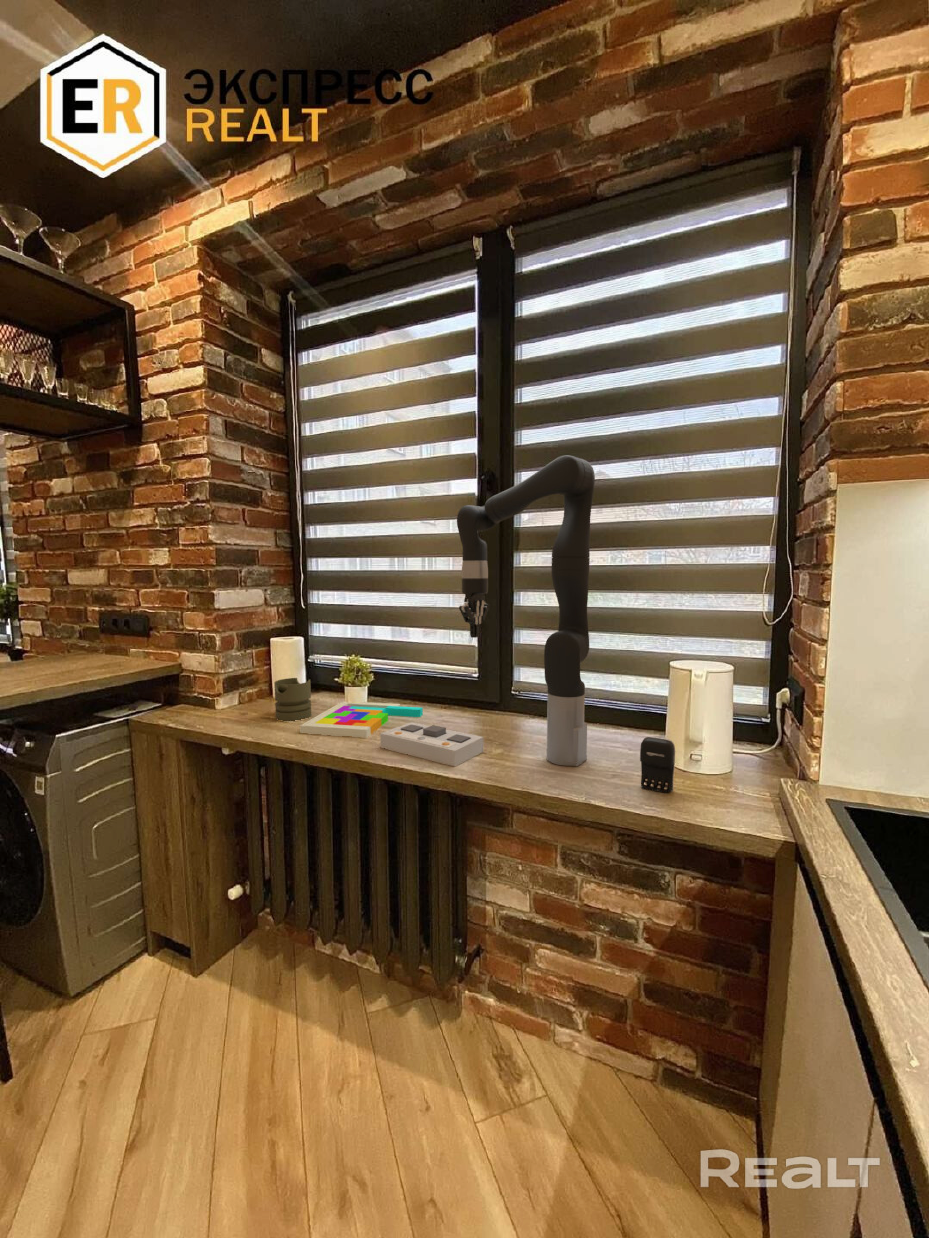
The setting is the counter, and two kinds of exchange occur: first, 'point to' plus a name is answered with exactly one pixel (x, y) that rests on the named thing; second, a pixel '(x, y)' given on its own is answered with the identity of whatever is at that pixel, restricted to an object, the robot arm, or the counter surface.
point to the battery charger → (657, 764)
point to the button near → (458, 738)
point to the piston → (292, 699)
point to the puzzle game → (356, 718)
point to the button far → (411, 728)
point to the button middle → (434, 731)
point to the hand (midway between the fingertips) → (474, 637)
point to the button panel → (432, 745)
